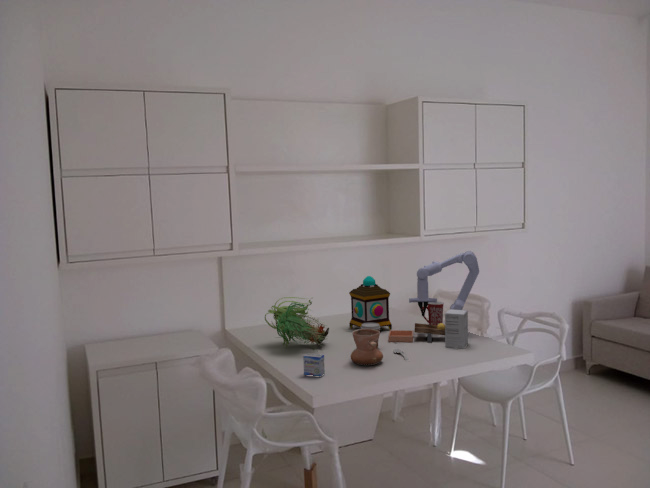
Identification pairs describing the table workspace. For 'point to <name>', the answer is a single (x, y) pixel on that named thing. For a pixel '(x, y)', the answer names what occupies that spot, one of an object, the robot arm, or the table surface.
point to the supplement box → (456, 328)
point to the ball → (441, 326)
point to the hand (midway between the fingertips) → (423, 315)
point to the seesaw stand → (429, 337)
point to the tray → (400, 336)
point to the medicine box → (313, 364)
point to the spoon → (401, 353)
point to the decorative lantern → (370, 304)
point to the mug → (435, 313)
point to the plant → (296, 323)
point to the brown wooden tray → (428, 329)
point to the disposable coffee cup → (371, 327)
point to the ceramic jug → (366, 347)
